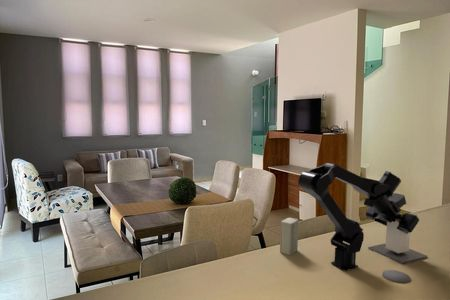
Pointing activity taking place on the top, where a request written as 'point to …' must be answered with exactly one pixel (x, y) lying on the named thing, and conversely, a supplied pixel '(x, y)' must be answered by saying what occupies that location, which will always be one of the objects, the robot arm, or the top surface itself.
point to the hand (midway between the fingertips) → (400, 230)
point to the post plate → (398, 254)
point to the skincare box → (289, 236)
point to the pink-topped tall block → (396, 238)
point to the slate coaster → (396, 276)
